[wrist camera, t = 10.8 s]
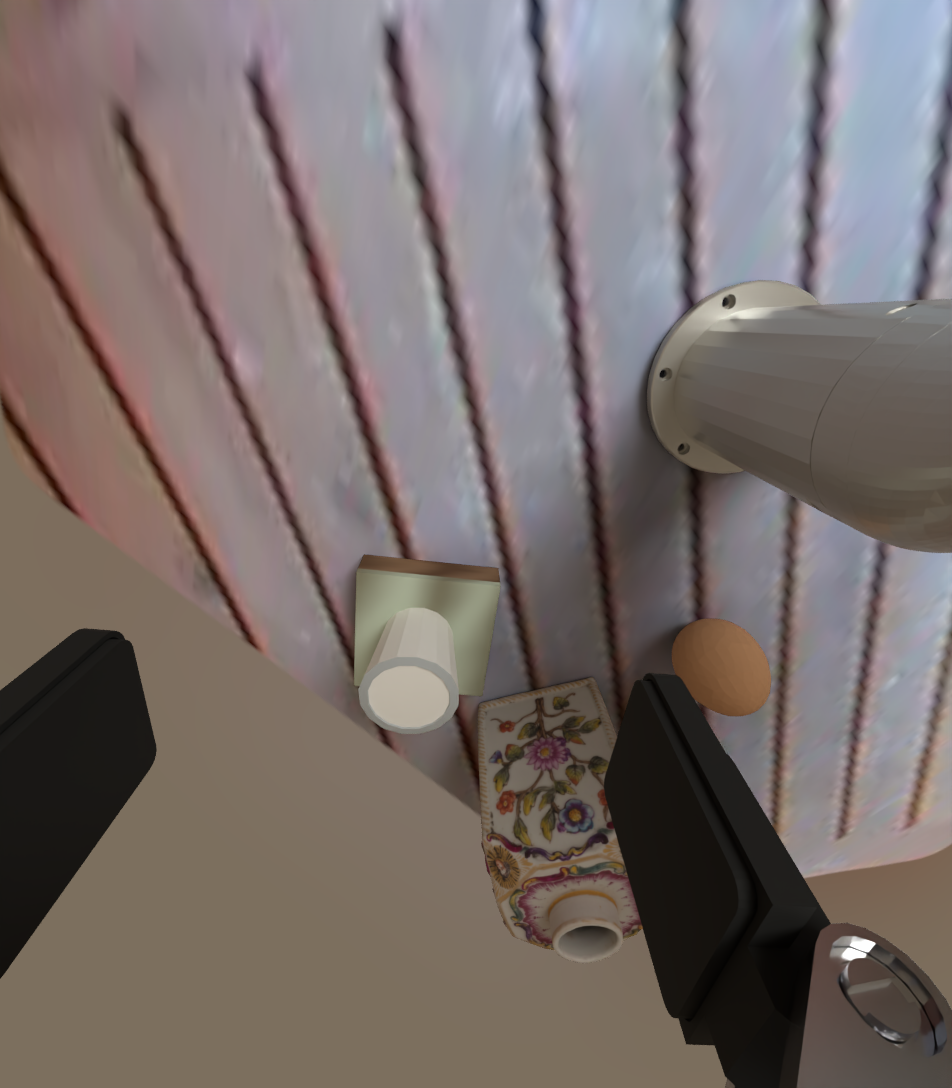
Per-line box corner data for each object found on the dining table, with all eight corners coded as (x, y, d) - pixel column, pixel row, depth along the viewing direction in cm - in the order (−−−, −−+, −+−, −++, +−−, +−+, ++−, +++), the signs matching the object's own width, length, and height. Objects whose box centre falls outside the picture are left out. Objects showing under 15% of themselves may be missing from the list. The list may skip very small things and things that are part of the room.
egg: (747, 607, 42) (814, 675, 34) (716, 668, 45) (771, 745, 37) (673, 595, 41) (724, 662, 33) (647, 657, 44) (688, 734, 36)
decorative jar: (504, 782, 51) (521, 1002, 34) (474, 700, 46) (478, 911, 29) (616, 758, 49) (690, 975, 33) (597, 672, 45) (673, 875, 28)
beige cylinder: (408, 683, 41) (398, 749, 34) (357, 626, 38) (336, 687, 32) (476, 646, 39) (478, 709, 33) (428, 585, 37) (421, 640, 31)
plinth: (498, 568, 40) (500, 586, 37) (481, 673, 44) (482, 696, 42) (364, 554, 39) (356, 572, 36) (360, 662, 44) (353, 685, 41)
